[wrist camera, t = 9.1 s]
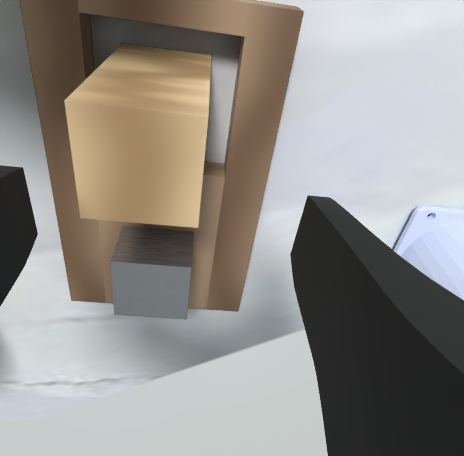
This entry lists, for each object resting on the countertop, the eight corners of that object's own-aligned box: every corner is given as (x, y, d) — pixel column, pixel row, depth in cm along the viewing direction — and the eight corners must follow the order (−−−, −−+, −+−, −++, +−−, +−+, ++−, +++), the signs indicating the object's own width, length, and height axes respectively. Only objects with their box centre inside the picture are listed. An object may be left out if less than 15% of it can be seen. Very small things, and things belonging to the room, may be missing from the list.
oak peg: (211, 54, 17) (208, 117, 11) (204, 136, 19) (198, 228, 13) (122, 43, 17) (64, 100, 10) (126, 128, 19) (80, 218, 13)
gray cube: (195, 216, 22) (191, 267, 19) (190, 265, 25) (186, 319, 21) (127, 210, 22) (110, 261, 18) (129, 260, 24) (114, 314, 21)
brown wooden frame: (297, 6, 16) (303, 11, 15) (237, 295, 27) (238, 311, 25) (29, -36, 15) (13, -35, 14) (78, 284, 25) (71, 300, 24)
